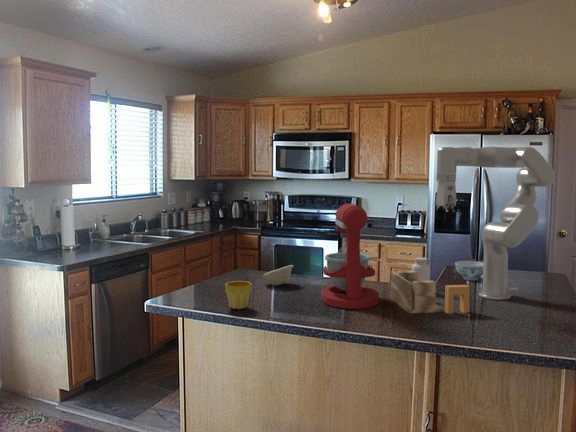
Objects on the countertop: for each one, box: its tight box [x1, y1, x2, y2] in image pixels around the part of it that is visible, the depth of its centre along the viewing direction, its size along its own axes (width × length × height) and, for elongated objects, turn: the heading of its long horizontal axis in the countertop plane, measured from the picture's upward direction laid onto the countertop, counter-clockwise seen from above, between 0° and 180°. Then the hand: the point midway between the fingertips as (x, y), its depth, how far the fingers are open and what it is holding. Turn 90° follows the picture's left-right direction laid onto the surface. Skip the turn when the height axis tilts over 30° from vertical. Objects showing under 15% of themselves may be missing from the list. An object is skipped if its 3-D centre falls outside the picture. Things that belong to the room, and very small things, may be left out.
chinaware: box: [454, 260, 484, 281], centre depth 256 cm, size 15×15×8 cm
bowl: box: [262, 264, 294, 286], centre depth 245 cm, size 15×14×10 cm
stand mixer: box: [320, 203, 380, 310], centre depth 215 cm, size 24×32×40 cm
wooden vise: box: [389, 270, 443, 314], centre depth 208 cm, size 13×23×12 cm, turn 6°
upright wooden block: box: [444, 284, 470, 315], centre depth 197 cm, size 8×3×10 cm, turn 96°
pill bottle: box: [411, 257, 431, 281], centre depth 229 cm, size 8×8×15 cm
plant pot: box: [224, 280, 253, 308], centre depth 204 cm, size 10×10×10 cm
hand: (444, 220), depth 210 cm, fingers open, 9 cm apart
